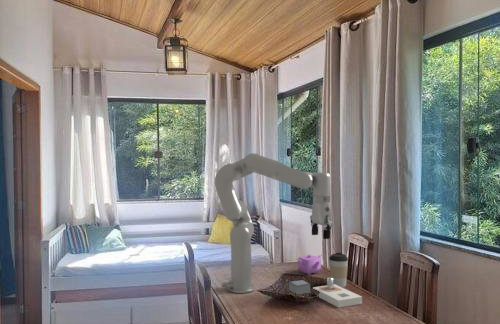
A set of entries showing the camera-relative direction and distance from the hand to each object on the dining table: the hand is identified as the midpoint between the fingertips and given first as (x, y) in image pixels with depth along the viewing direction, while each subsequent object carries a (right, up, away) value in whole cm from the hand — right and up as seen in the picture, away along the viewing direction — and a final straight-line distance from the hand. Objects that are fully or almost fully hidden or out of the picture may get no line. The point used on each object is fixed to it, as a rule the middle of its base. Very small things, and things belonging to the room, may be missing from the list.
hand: (320, 236), depth 201 cm
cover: (-10, -26, -4) cm, 28 cm away
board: (+6, -26, -8) cm, 28 cm away
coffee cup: (+11, -26, +13) cm, 31 cm away
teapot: (0, -26, +35) cm, 43 cm away
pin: (+4, -26, -3) cm, 26 cm away
